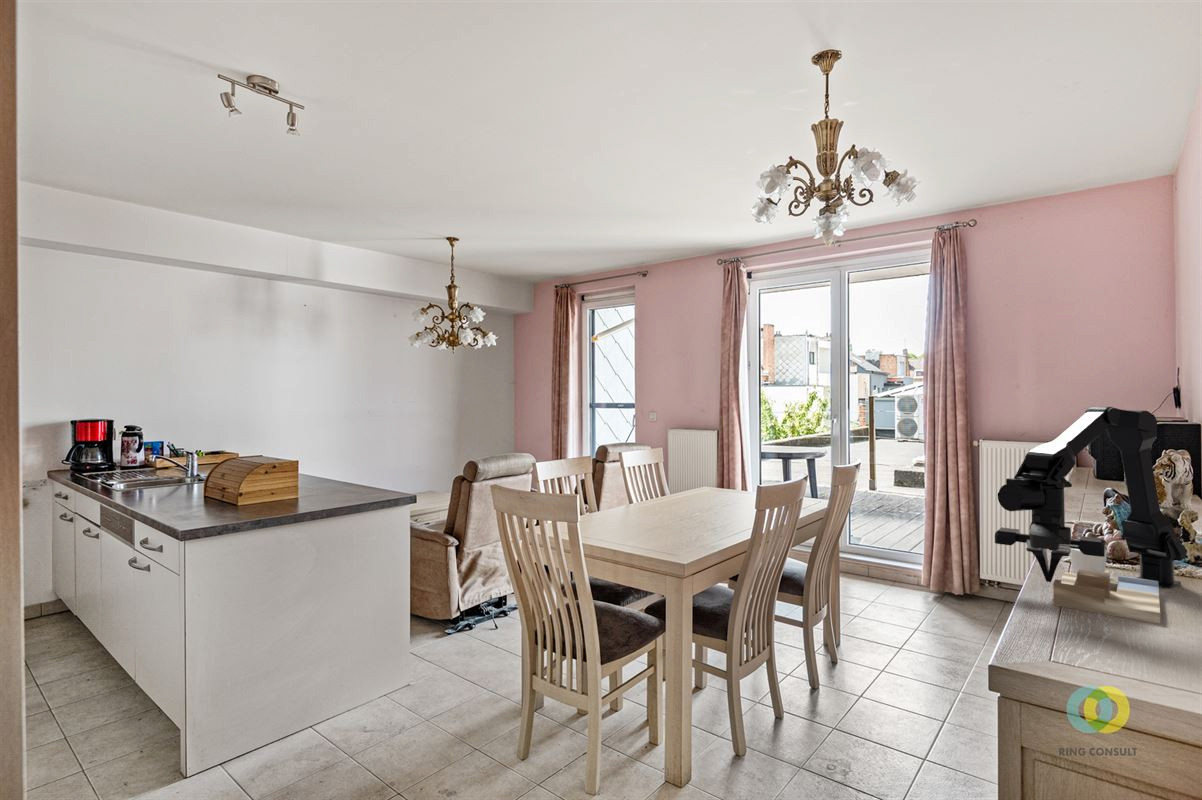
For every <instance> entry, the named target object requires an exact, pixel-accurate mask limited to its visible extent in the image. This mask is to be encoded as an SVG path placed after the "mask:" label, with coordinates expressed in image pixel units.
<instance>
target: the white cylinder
mask: <svg viewBox="0 0 1202 800" xmlns="http://www.w3.org/2000/svg"><path fill="white" fill-rule="evenodd" d="M1069 556H1070V564H1071V573H1074V574H1077V573H1078V570H1079V569H1084V570H1091V571H1098V572H1105V573H1106V565H1107V556H1108V551H1106V552H1105V556H1104V557H1099V556H1091V555H1084V554H1083V553H1082V552H1081V551H1080V550H1079V549H1073V548H1071V553H1070V555H1069Z"/></svg>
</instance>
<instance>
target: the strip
mask: <svg viewBox="0 0 1202 800" xmlns="http://www.w3.org/2000/svg"><path fill="white" fill-rule="evenodd" d="M1117 580H1118V587H1117V588H1122V589H1129V590H1136V591H1142V592H1149V593H1156V594H1159V595H1160V590H1159V588H1160V586H1158V581H1153V580H1146V579H1139V578H1137V577H1130V576H1124V575H1118V578H1117Z"/></svg>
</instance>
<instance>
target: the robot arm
mask: <svg viewBox="0 0 1202 800" xmlns="http://www.w3.org/2000/svg"><path fill="white" fill-rule="evenodd" d="M1157 420H1158V419H1157V418H1156V416H1155V414H1153V413H1151V412H1150V411H1148V410H1126V409H1119V408H1117V407H1113V406H1091V407H1089V408H1087V409H1086V410H1085V412H1084V414H1083V415H1082V416H1080V417H1079V419H1077V420H1076V421H1075V422H1073V424H1071V425H1070V426H1069V427H1068V428H1067V429H1065V430H1064V431H1063V432H1062V433H1061V434H1060V435H1059V436H1057V437H1056V438H1055V439H1054V440H1052V441H1049V442H1045V443H1042V444H1039V445H1038V446H1035V447H1034V448H1032V449H1031V450H1029V451H1028V452H1027V453H1026V454H1025V457H1024V459H1023V461H1022V462H1021V465H1020V467H1019V468H1018V469H1017V471H1016V473H1015V475H1014V476H1013V478H1012V477H1011V478H1010V477H1009V478H1006V479H1005V484H1003V485H1002V486H1001V487H1000V488H999V490H998V492H997V499H998V502H999V505H1000V507H1002V509H1004V510H1006V511H1007V512H1021V511H1022V512H1023V511H1031V522H1030V525H1029V531H1028V532H1029V534H1028V533H1020V529H1018V528H1017V529H1016V528H1010V527H1009V528H1008V527H1000V528H998V529H997V531H995V532H994V544H997V545H1003V546H1012V545H1015V543H1025V544H1026V548H1025V550H1026V552H1030V553H1032V554H1033V555H1034V557H1035V559H1036V561H1037V562H1038V564H1039V567H1040V569H1041V572H1042V573H1043V576H1044V579H1045V582H1047V583H1051V582H1052V581H1053V578H1054V575H1055V574H1056V571H1057V568H1058V565H1059V563H1060V561H1061V560H1062V558H1063V557H1069V556H1070V553H1071V548H1073V549H1079V550H1080V551H1081V552H1082V553H1083V554H1084V555H1091V556H1099V557H1104V556H1105V552H1106V548H1107V547H1106V541H1105V540H1104V539H1103V538H1102V537H1093V536H1092V537H1091V536H1082V535H1081V536H1080V538H1079V539H1074V538H1073V539H1072V530H1071V527H1069V526H1066V524H1065V523H1066V521H1065V520H1066V514H1065V513H1066V512H1065V488H1072V487H1073V485H1072V483H1071V482H1070V481H1069V480H1067V479H1066V478H1065V477H1067V476H1068V475H1069V474H1070V473H1071V471H1072V469H1073V468H1074V467H1075V466H1076V464H1077V462H1076V461H1077V459H1076V457H1077V456H1078V454H1080V453H1081V452H1082V451H1084V449H1086V447H1088V446H1089V445H1090V444H1091V443H1093V442H1094V440H1095V439H1097V438H1098V437H1099V436H1100V435H1101V434H1103V433H1104V432H1105V431H1106V432H1107V434H1108V438H1109V439H1110V441H1111V442H1112V443H1113V444H1114V445H1115V446H1116V447H1117V448H1118V449H1119V451H1120V454H1121V455H1120V456H1121V460H1122V466H1123V473H1124V479H1125V484H1126V490H1127V491H1126V492H1127V496H1128V502H1129V507H1130V513H1129V514H1128V516H1127V518H1126V519H1123V520H1122V521H1121V522H1120V524H1121V525H1120V526H1121V528H1122V537H1123V538H1124V539H1125V543H1126V545H1127V548H1128V552H1129V553H1133V554H1134V553H1136V554H1139V576H1137V577H1136V578H1139V579H1146V580H1153V581H1158V587H1161V588H1166V589H1171V588H1174V587H1177V586H1179V585H1182V581H1179V580H1175V562H1183V561H1184V560H1186V559H1187V556H1188V549H1187V547H1185V546H1184V544H1183V543H1182V541H1181V540H1180V539H1179V538H1178V537H1177V536H1176V532H1175V529H1174V526H1173V523H1172V522H1171V521H1170V520H1169V519H1168V517H1167V516H1165V514H1164V513H1163V512H1162V511H1161V507H1160V501H1159V495H1158V491H1157V485H1156V478H1155V474H1154V473H1155V471H1154V465H1153V461H1152V455H1151V447H1152V445H1153V444H1154V442H1155V440H1156V439H1157V438H1158V421H1157ZM1047 550H1049V551H1050V560H1049V561H1050V562H1049V561H1048V553H1047Z"/></svg>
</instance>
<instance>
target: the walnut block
mask: <svg viewBox="0 0 1202 800" xmlns="http://www.w3.org/2000/svg"><path fill="white" fill-rule="evenodd" d="M1110 579H1111V574H1110V572H1106V571H1105V572H1098V571H1091V570H1084V569H1079V570H1078V573H1077V586H1083V587H1090V588H1096V589H1103V590H1104V591H1105V598H1108V599H1109V596H1110Z"/></svg>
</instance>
